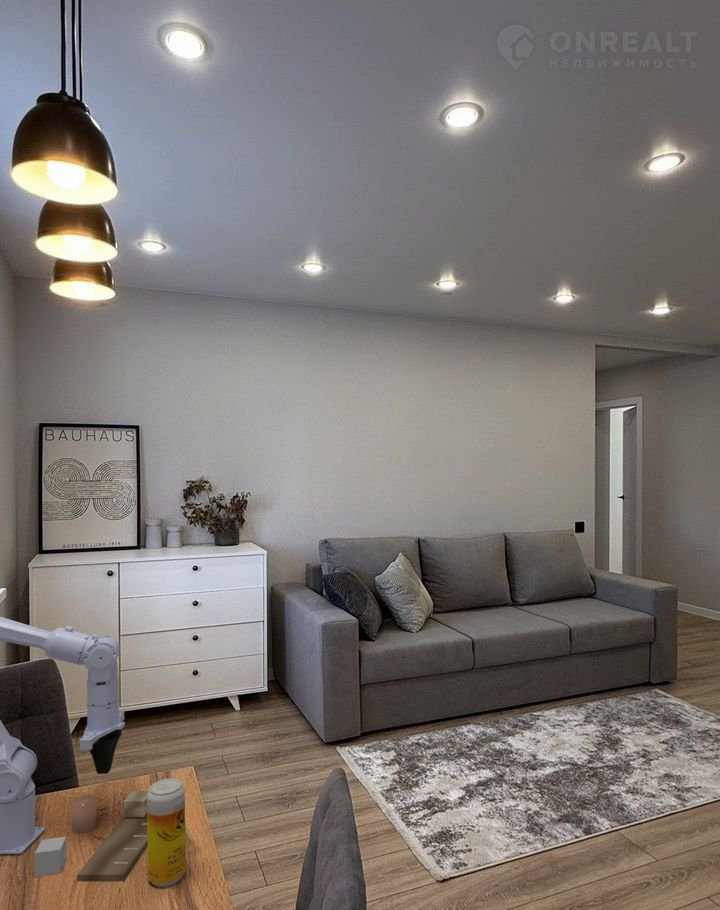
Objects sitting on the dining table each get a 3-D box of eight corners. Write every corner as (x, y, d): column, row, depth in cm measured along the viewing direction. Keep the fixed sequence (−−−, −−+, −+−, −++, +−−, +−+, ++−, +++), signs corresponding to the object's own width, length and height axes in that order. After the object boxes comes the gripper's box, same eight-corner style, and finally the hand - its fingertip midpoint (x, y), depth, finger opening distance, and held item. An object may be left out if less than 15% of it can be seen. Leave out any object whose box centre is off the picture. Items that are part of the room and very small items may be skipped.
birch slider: (124, 817, 119) (123, 801, 119) (132, 806, 123) (132, 791, 123) (152, 817, 119) (152, 801, 119) (160, 806, 123) (160, 791, 123)
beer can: (174, 890, 99) (173, 796, 100) (140, 886, 100) (139, 793, 101) (192, 867, 105) (190, 778, 105) (160, 864, 106) (158, 776, 107)
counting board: (77, 880, 102) (77, 873, 102) (132, 810, 124) (132, 804, 124) (123, 880, 102) (123, 874, 102) (170, 810, 124) (170, 804, 124)
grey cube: (34, 877, 103) (34, 853, 104) (41, 863, 107) (41, 839, 108) (60, 873, 104) (60, 849, 105) (66, 859, 108) (66, 836, 108)
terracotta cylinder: (67, 833, 116) (66, 807, 116) (78, 821, 121) (78, 795, 121) (89, 833, 116) (89, 806, 116) (100, 821, 120) (100, 795, 121)
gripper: (105, 715, 112) (106, 790, 111) (138, 688, 126) (139, 755, 126) (68, 715, 112) (68, 791, 112) (105, 689, 127) (105, 755, 126)
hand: (103, 772), depth 119 cm, fingers closed
